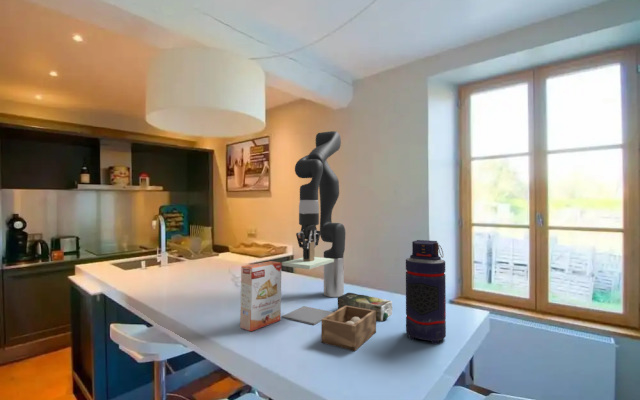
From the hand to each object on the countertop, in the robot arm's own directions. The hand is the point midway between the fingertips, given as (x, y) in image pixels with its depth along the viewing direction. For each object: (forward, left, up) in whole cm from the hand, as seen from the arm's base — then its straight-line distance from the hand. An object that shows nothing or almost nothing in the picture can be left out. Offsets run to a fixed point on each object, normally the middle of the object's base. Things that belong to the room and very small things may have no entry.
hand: (308, 258), depth 121 cm
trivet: (0, 0, -21) cm, 21 cm away
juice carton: (-14, +17, -22) cm, 31 cm away
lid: (0, 0, -2) cm, 2 cm away
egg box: (+10, +22, -21) cm, 32 cm away
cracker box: (+16, -9, -22) cm, 29 cm away
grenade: (-4, +42, -22) cm, 47 cm away
